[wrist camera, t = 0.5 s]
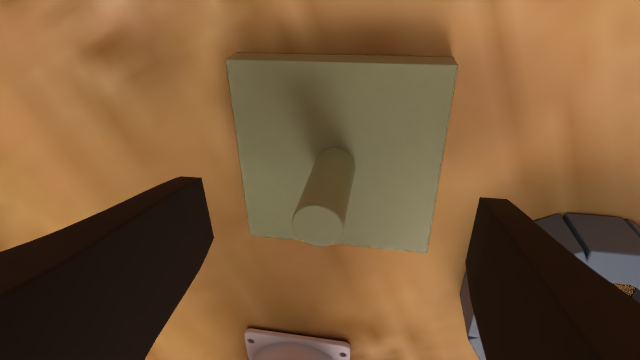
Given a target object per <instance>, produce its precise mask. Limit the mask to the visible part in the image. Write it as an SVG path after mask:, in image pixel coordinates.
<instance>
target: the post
mask: <svg viewBox="0 0 640 360" xmlns="http://www.w3.org/2000/svg"><path fill="white" fill-rule="evenodd" d="M226 66H227V74H228V81H229V88H230V95H231V102H232V109H233V117H234V124H235V131H236V138H237V145H238V152H239V159H240V167H241V174H242V181H243V188H244V195H245V202H246V209H247V217H248V224H249V231H250V235H251V236H261V237H271V238H281V239H291V240H300V241H304V242H305V243H307V244H310V245H313V246H319V247H323V246H329V245H331V244H340V245H350V246H360V247H369V248H379V249H389V250H399V251H409V252H419V253H427V249H428V243H429V237H430V231H431V225H432V219H433V213H434V207H435V201H436V195H437V189H438V183H439V177H440V171H441V165H442V159H443V153H444V147H445V141H446V135H447V129H448V123H449V117H450V111H451V105H452V99H453V93H454V87H455V81H456V75H457V69H458V64H457V63H456V61H455V59H454V58H453V57H434V56H386V55H337V54H288V53H239V52H238V53H236V54H234V55H232V56H231V57H229V58H227V59H226Z"/></svg>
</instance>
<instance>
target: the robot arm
mask: <svg viewBox="0 0 640 360" xmlns="http://www.w3.org/2000/svg"><path fill="white" fill-rule="evenodd" d="M213 239H214V236H213V231H212V226H211V221H210V216H209V212H208V207H207V202H206V197H205V192H204V188H203V183H202V178H196V177H182V176H181V177H178V178H175V179H172V180H170V181H167V182H165V183H162V184H160V185H158V186H156V187H153V188H151V189H149V190H147V191H145V192H143V193H141V194H138V195H136V196H134V197H132V198H130V199H128V200H126V201H124V202H122V203H119V204H117V205H115V206H113V207H111V208H109V209H107V210H104V211H102V212H100V213H98V214H95V215H93V216H91V217H88V218H86V219H84V220H82V221H79V222H77V223H75V224H73V225H70V226H68V227H66V228H63V229H61V230H59V231H56V232H54V233H51V234H49V235H46V236H43V237H41V238H38V239H36V240H33V241H30V242H27V243H24V244H22V245H19V246H16V247H13V248H11V249H8V250H5V251H2V252H0V360H145V358H146V356H147V354H148V352H149V351H150V349H151V347H152V345H153V344H154V342H155V340H156V338H157V337H158V335H159V334H160V332H161V331H162V329H163V327H164V326H165V324H166V323H167V321H168V319H169V318H170V316H171V315H172V313H173V312H174V310H175V308H176V307H177V305H178V304H179V302H180V301H181V299H182V297H183V296H184V294H185V293H186V291H187V289H188V288H189V286H190V285H191V283H192V281H193V280H194V278H195V276H196V275H197V273H198V271H199V270H200V268H201V266H202V264H203V262H204V259H205V257H206V255H207V253H208V250H209V248H210V246H211V243H212V241H213ZM465 263H466V271H467V280H468V288H469V295H470V300H471V304H472V308H473V312H474V316H475V320H476V324H477V328H478V331H479V335H480V339H481V342H482V346H483V350H484V354H485V357H486V360H640V303H639V302H637V301H636V300H635V299H633V298H632V297H630V296H629V295H627V294H626V293H624V292H623V291H622V290H620V289H619V288H617V287H616V286H615V285H613V284H612V283H611V282H609V281H608V280H607V279H605V278H604V277H603V276H601V275H600V274H598V273H597V272H596V271H594V270H593V269H592V268H590V267H589V266H588V265H587V264H585V263H584V262H583V261H581V260H580V259H579V258H578V257H576V256H575V255H574V254H573V253H571V252H570V251H569V250H568V249H566V248H565V247H564V246H563V245H561V244H560V243H559V242H558V241H557V240H555V239H554V238H553V237H552V236H551V235H549V234H548V233H547V232H546V231H545V230H543V229H542V228H541V227H540V226H539V225H538V224H536V223H535V222H534V221H533V220H532V219H531V218H529V217H528V216H527V215H526V214H525V213H524V212H522V211H521V210H520V209H519V208H518V207H516V206H515V205H514V204H513V203H511V202H510V201H509V200H507V199H496V198H482V197H480V199H479V204H478V208H477V213H476V217H475V221H474V226H473V230H472V235H471V239H470V244H469V248H468V253H467V257H466V262H465ZM244 337H245V343H246V349H247V354H248V360H350V349H351V347H350V345H349V344H348V343H347V342H343V341H336V340H329V339H322V338H315V337H308V336H301V335H294V334H287V333H280V332H273V331H266V330H259V329H252V328H249V329H247V330H246V331H245V333H244Z"/></svg>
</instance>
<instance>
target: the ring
mask: <svg viewBox="0 0 640 360" xmlns="http://www.w3.org/2000/svg"><path fill="white" fill-rule="evenodd" d="M534 222H535V223H536V224H538V225H539V226H540V227H541V228H542V229H543V230H545V231H546V232H547V233H548V234H549V235H551V236H552V237H553V238H554V239H555V240H557V241H558V242H559V243H560V244H561V245H563V246H564V247H565V248H566V249H568V250H569V251H570V252H571V253H573V254H574V255H575V256H576V257H578V258H579V259H580V260H581V261H583V262H584V263H585V264H587V265H588V266H589V267H590V268H592V269H593V270H594V271H596V272H597V273H598V274H600V275H601V276H603V277H604V278H605V279H607V280H608V281H609V282H611V283H617V284H627V285H632V286H634V287H635V288H637V289H636V290H635V292H634V294H633V296H632V298H633V299H635V300H636V301H637V302H639V303H640V226H638V225H637V224H635V223H634V222H632V221H631V220H629V219H627V220H625V221H624V220H623V219H622V218H620V217H610V216H597V215H585V214H572V213H566V215H565V217H564V220H563V218H562V217H561V215H560V214H556V215H553V216H549V217H546V218H543V219H540V220H536V221H534ZM460 298H461V304H462V310H463V315H464V320H465V325H466V331H467V336H468V340H469V342H470V344H471V345H472V347H473V349H474V351H475V352H476V354H477V356H478V357H479V359H480V360H486V357H485V354H484V350H483V346H482V342H481V339H480V335H479V331H478V328H477V324H476V320H475V316H474V312H473V308H472V304H471V300H470V295H469V288H468V280H467V271H466V272H465V277H464V281H463V285H462V289H461V293H460Z"/></svg>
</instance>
